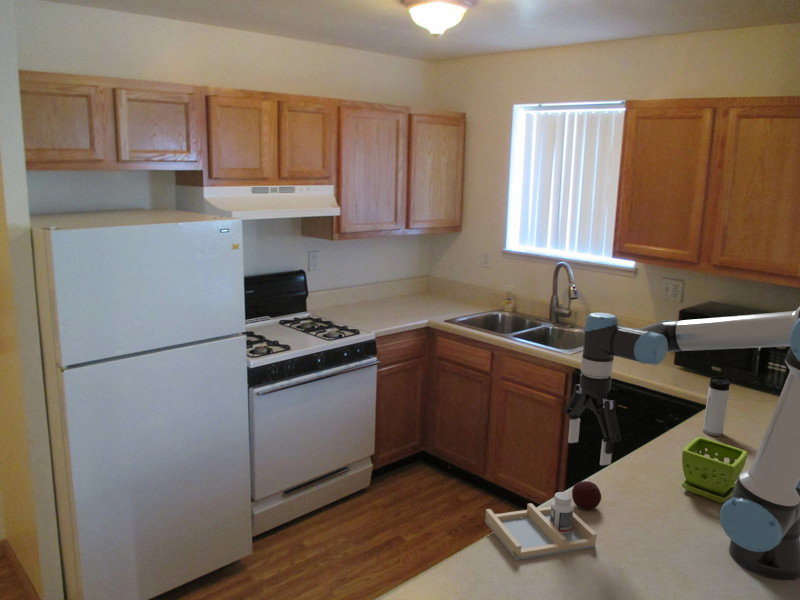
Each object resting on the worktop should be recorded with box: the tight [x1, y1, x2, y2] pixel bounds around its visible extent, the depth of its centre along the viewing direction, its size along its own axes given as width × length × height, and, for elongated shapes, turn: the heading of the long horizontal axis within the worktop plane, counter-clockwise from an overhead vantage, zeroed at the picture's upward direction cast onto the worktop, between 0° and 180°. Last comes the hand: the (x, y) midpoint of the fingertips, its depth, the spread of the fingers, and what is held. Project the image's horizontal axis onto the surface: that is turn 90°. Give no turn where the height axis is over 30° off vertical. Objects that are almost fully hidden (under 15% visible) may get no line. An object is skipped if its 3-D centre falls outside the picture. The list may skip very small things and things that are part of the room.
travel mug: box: [702, 375, 731, 437], centre depth 219 cm, size 6×7×20 cm
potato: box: [571, 480, 602, 511], centre depth 167 cm, size 7×8×7 cm
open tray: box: [484, 503, 598, 561], centre depth 154 cm, size 16×21×4 cm
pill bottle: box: [550, 491, 574, 534], centre depth 155 cm, size 5×5×9 cm
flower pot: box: [681, 436, 749, 504], centre depth 177 cm, size 14×14×13 cm
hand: (588, 452), depth 162 cm, fingers open, 13 cm apart
